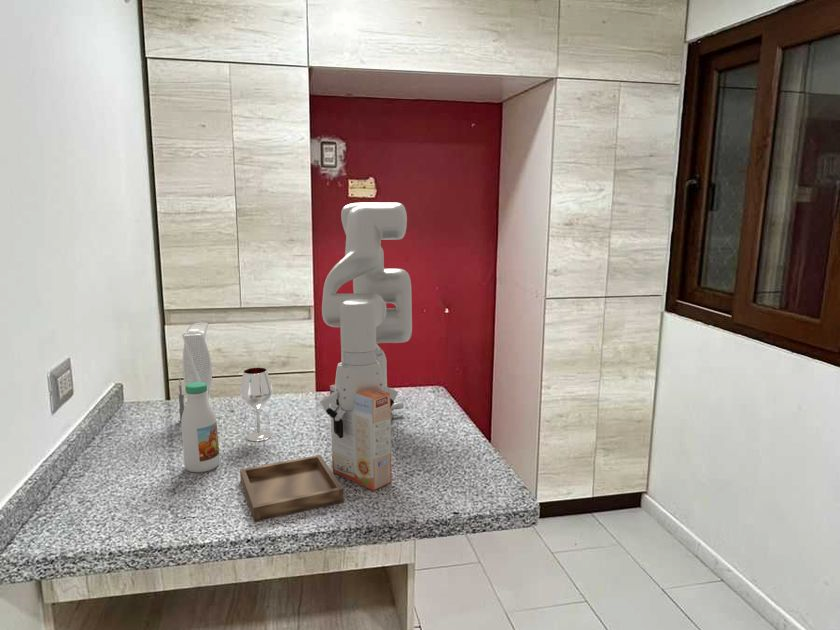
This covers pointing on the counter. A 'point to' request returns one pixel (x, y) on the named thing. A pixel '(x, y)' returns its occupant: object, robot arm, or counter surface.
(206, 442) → the milk bottle
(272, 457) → the counter surface
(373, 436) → the cracker box
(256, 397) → the wineglass
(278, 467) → the walnut tray
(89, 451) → the counter surface
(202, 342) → the skyscraper
